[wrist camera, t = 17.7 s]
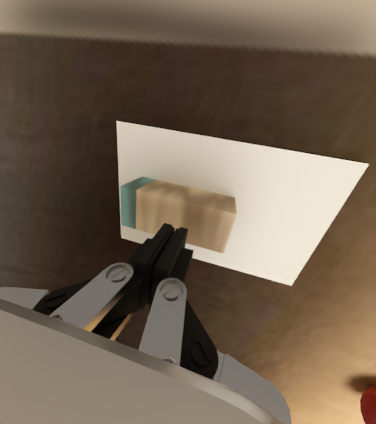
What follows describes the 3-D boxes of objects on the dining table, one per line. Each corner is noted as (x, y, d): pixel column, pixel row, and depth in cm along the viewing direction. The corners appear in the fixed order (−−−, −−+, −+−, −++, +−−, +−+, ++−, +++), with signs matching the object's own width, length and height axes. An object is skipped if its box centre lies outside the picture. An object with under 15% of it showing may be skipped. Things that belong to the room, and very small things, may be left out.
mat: (363, 162, 13) (369, 164, 12) (289, 281, 19) (291, 285, 19) (120, 121, 16) (116, 120, 16) (123, 235, 22) (121, 237, 22)
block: (236, 214, 12) (120, 185, 14) (223, 253, 14) (121, 225, 15) (234, 197, 16) (142, 176, 17) (224, 230, 18) (141, 209, 19)
